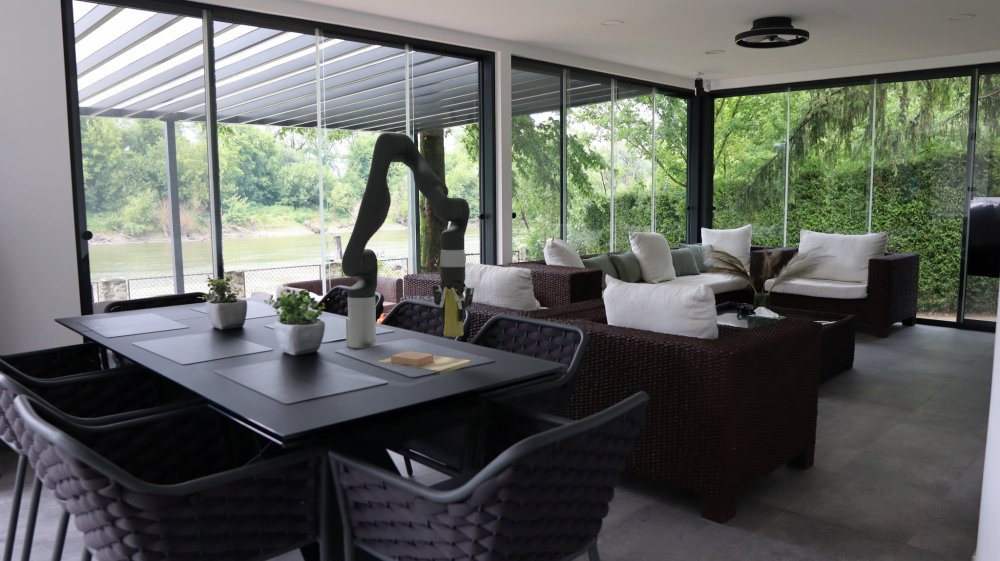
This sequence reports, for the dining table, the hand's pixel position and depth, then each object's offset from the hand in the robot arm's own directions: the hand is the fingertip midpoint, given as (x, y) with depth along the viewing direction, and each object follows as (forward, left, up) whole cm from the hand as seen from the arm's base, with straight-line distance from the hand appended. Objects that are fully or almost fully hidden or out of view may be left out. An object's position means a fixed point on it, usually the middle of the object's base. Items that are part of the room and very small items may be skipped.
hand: (453, 320), depth 220 cm
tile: (-15, -7, -11) cm, 20 cm away
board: (-8, -4, -14) cm, 17 cm away
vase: (0, 0, -5) cm, 5 cm away
